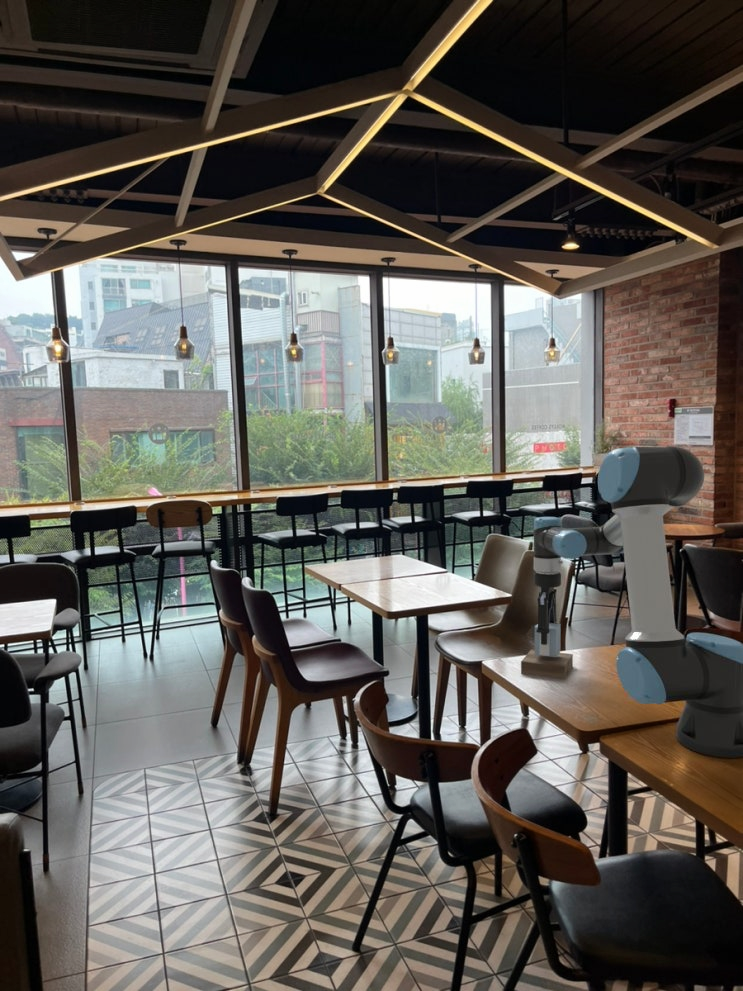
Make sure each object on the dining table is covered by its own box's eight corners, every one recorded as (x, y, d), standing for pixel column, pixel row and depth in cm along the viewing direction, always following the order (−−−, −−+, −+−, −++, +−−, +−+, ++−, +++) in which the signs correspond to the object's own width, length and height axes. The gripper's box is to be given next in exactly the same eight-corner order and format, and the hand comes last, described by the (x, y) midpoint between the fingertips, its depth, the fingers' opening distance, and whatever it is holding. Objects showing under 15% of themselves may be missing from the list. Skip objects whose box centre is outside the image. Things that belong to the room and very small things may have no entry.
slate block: (556, 657, 193) (556, 629, 193) (534, 654, 196) (534, 627, 195) (560, 651, 199) (560, 623, 198) (539, 648, 201) (539, 621, 201)
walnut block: (564, 681, 190) (564, 666, 189) (521, 675, 195) (521, 661, 195) (572, 667, 200) (572, 654, 200) (531, 662, 206) (531, 649, 205)
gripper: (553, 578, 185) (553, 663, 187) (567, 566, 202) (567, 644, 204) (525, 576, 189) (526, 659, 190) (541, 565, 206) (541, 641, 207)
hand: (547, 651), depth 197 cm, fingers closed on slate block, 6 cm apart
